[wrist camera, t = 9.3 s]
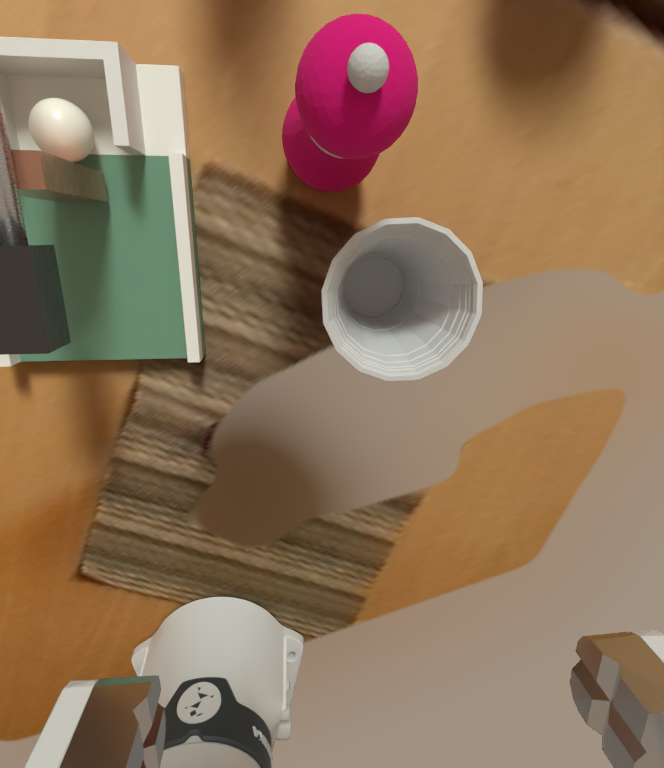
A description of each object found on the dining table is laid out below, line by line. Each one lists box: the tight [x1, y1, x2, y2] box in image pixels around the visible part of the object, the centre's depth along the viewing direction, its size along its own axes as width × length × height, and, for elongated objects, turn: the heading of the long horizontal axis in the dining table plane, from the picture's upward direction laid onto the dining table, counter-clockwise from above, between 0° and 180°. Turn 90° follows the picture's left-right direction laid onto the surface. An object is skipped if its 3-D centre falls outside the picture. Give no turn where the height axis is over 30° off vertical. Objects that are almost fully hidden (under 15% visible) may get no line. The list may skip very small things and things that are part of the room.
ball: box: [29, 98, 94, 162], centre depth 32 cm, size 4×4×4 cm
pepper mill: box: [282, 14, 418, 192], centre depth 28 cm, size 7×7×20 cm
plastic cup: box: [321, 217, 483, 381], centre depth 36 cm, size 11×11×12 cm
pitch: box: [0, 37, 206, 367], centre depth 35 cm, size 22×16×6 cm
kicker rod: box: [0, 96, 108, 355], centre depth 29 cm, size 23×4×12 cm, turn 0°
